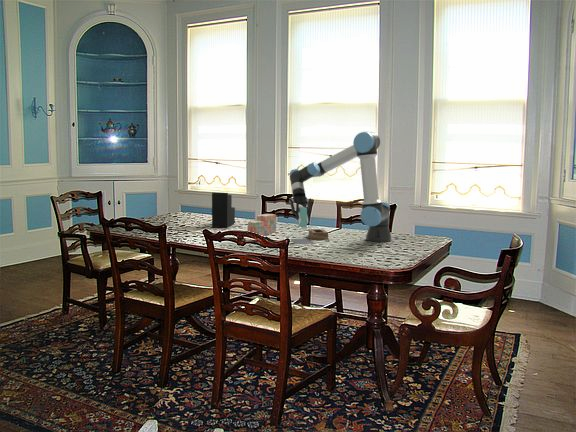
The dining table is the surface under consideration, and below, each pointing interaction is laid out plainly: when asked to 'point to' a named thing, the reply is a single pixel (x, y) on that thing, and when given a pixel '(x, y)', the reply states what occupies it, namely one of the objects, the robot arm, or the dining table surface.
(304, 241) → the mat
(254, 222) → the stack of blocks
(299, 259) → the dining table surface
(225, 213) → the bookend
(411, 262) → the dining table surface
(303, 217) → the tile
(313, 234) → the brown hollow block
